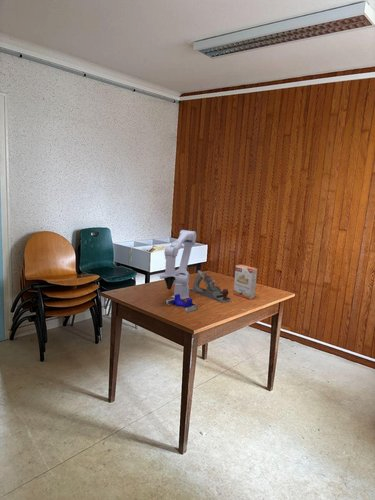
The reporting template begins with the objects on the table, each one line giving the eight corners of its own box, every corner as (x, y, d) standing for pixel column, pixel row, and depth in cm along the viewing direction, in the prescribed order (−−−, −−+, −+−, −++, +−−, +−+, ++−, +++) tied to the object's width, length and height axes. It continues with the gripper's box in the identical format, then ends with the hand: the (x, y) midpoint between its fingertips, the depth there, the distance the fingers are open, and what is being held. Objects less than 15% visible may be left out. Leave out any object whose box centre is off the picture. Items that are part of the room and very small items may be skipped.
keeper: (176, 301, 230) (177, 297, 229) (197, 309, 218) (198, 304, 217) (166, 304, 223) (166, 299, 223) (186, 312, 211) (187, 307, 211)
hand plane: (223, 303, 233) (225, 280, 231) (188, 290, 258) (189, 269, 255) (232, 301, 239) (234, 279, 237) (197, 288, 264) (199, 268, 261)
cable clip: (172, 304, 224) (173, 295, 223) (177, 303, 228) (178, 293, 227) (186, 309, 216) (187, 300, 215) (191, 308, 220) (192, 298, 219)
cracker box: (232, 294, 254) (235, 265, 250) (238, 293, 258) (240, 264, 255) (249, 299, 244) (252, 269, 241) (254, 298, 248) (257, 268, 245)
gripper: (166, 269, 211) (164, 292, 214) (183, 266, 222) (182, 288, 224) (157, 267, 216) (156, 289, 218) (175, 264, 227) (173, 285, 229)
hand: (169, 288), depth 222 cm, fingers closed
